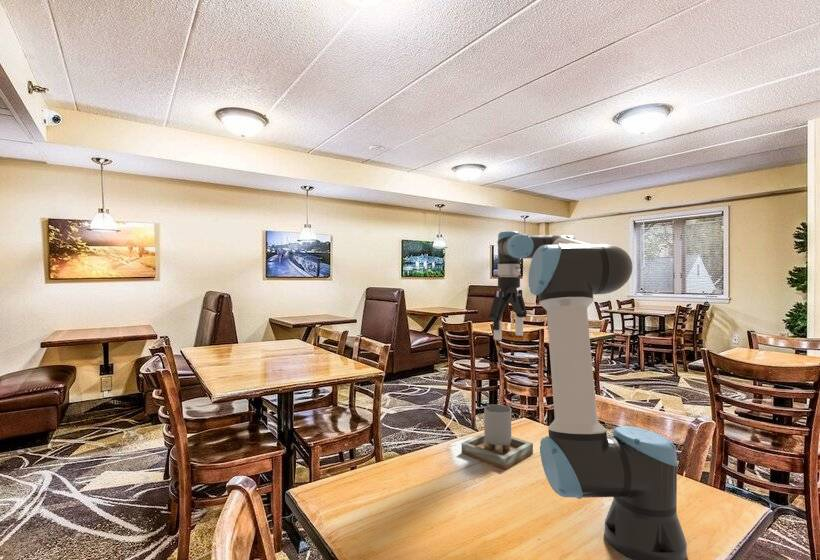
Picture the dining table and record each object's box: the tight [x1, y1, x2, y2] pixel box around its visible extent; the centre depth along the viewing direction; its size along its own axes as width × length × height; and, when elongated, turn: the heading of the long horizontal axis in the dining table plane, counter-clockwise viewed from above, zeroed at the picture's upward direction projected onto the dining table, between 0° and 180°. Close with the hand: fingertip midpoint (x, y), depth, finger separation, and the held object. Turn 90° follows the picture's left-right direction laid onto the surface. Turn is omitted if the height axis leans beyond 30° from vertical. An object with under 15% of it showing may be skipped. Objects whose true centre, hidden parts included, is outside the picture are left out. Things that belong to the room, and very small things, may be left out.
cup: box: [483, 404, 512, 445], centre depth 133 cm, size 8×8×10 cm
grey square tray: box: [461, 432, 534, 471], centre depth 132 cm, size 16×16×4 cm
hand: (508, 337), depth 145 cm, fingers open, 13 cm apart
